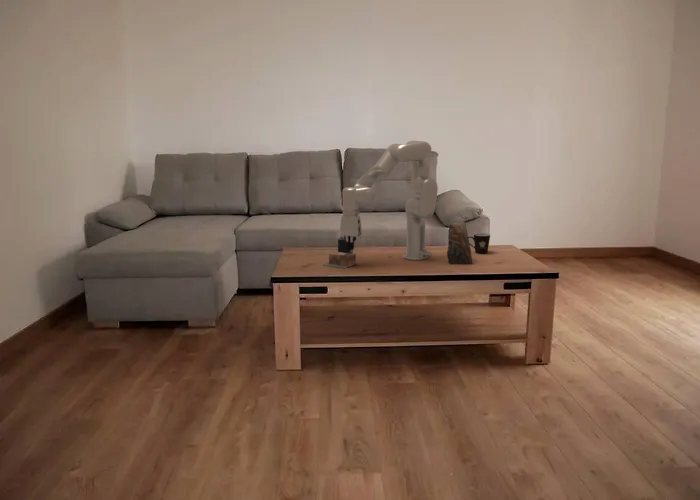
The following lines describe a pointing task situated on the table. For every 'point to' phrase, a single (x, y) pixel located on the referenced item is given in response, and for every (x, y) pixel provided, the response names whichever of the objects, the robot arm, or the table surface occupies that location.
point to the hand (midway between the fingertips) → (350, 249)
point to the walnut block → (342, 259)
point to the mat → (336, 265)
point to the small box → (343, 246)
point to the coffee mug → (481, 242)
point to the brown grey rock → (458, 244)
